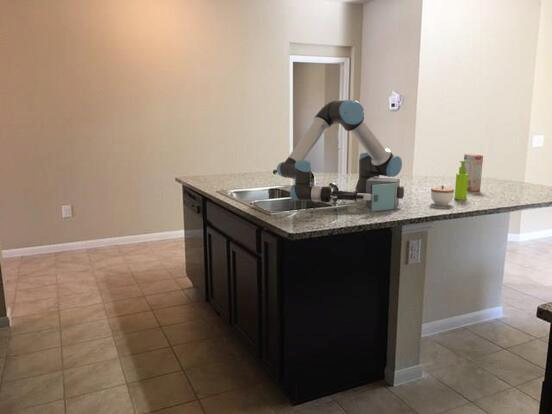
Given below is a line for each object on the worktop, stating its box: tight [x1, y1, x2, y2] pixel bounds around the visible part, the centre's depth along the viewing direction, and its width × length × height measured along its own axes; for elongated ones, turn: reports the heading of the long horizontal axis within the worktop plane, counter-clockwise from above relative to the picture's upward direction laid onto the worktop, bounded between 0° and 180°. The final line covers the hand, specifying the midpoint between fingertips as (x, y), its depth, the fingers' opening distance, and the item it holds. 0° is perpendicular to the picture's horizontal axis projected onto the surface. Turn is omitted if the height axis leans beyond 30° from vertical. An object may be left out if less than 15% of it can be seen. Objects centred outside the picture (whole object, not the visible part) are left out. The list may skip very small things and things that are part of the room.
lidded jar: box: [430, 185, 455, 206], centre depth 233 cm, size 11×11×9 cm
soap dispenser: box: [454, 160, 471, 200], centre depth 248 cm, size 6×7×20 cm
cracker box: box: [463, 153, 484, 192], centre depth 278 cm, size 14×6×21 cm, turn 179°
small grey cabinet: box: [365, 176, 405, 208], centre depth 228 cm, size 12×17×14 cm
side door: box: [370, 183, 397, 212], centre depth 217 cm, size 2×14×12 cm, turn 118°
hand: (370, 197), depth 216 cm, fingers closed
